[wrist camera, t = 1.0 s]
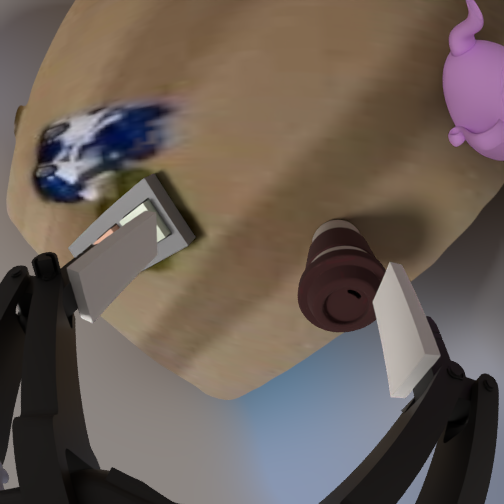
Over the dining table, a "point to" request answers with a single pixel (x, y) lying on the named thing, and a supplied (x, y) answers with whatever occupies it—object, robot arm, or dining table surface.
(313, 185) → the dining table surface
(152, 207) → the tile one
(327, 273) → the coffee cup
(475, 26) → the teapot
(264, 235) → the dining table surface
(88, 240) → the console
